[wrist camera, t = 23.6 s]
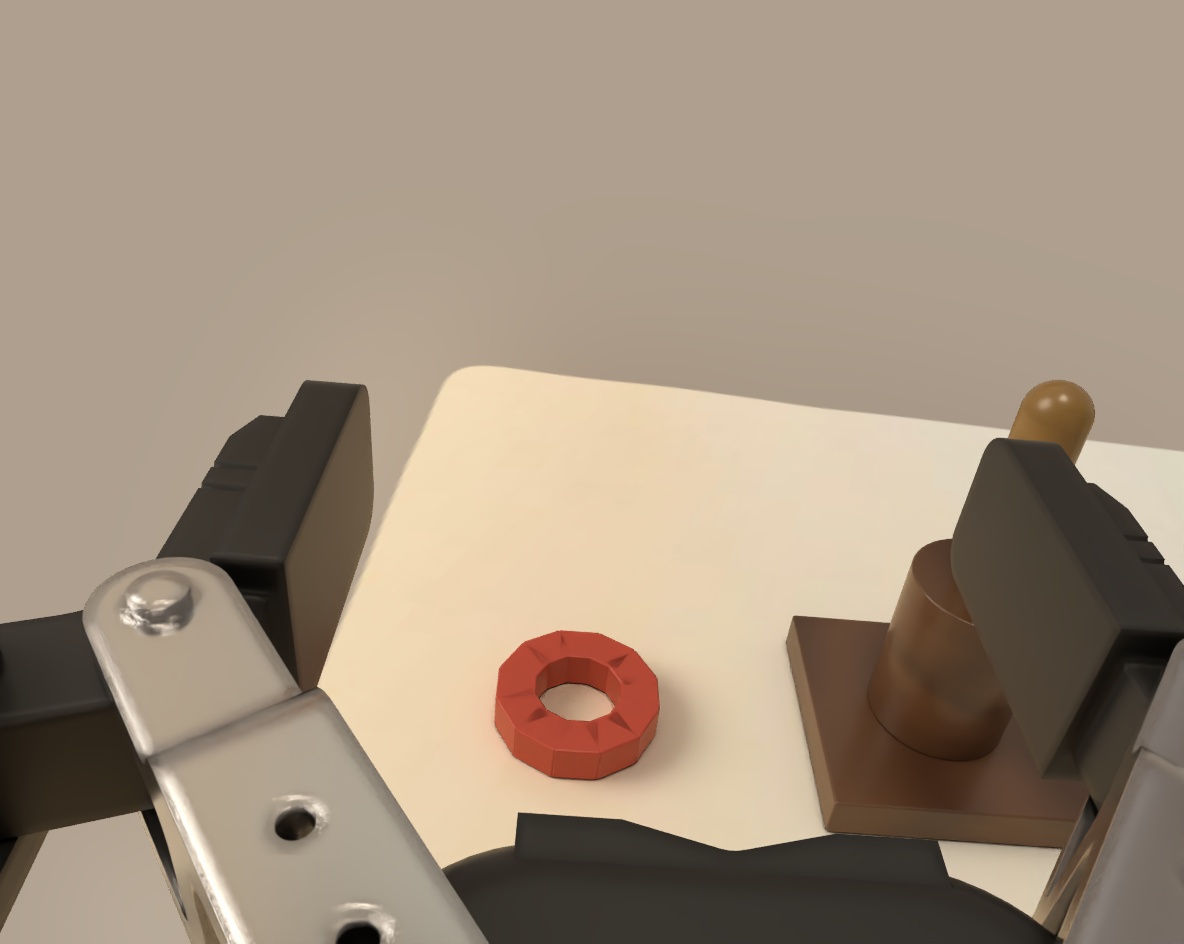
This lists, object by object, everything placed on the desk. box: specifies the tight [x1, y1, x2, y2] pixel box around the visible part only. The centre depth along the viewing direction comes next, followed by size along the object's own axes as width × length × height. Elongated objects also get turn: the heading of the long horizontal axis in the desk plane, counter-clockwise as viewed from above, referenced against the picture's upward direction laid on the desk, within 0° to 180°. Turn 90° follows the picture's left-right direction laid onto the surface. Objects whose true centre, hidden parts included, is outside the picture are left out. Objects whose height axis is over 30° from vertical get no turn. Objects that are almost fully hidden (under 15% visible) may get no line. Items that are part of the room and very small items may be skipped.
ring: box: [495, 630, 660, 779], centre depth 35 cm, size 6×6×1 cm
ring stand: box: [786, 380, 1095, 848], centre depth 32 cm, size 9×9×15 cm
